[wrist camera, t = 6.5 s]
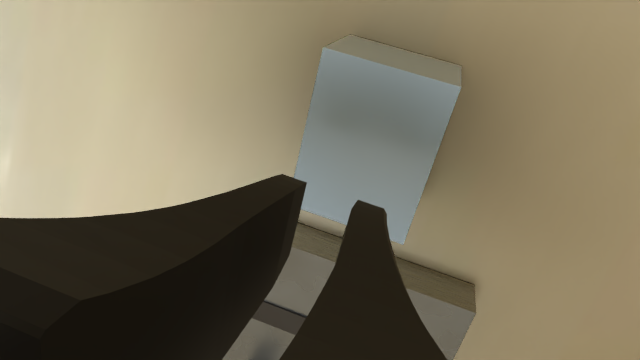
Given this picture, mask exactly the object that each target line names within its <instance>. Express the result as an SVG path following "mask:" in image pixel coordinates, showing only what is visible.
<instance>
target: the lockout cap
mask: <svg viewBox="0 0 640 360" xmlns="http://www.w3.org/2000/svg"><path fill="white" fill-rule="evenodd" d="M461 76H462V66H461V65H457V64H454V63H450V62H446V61H443V60H439V59H436V58H432V57H429V56H425V55H422V54H418V53H414V52H411V51H407V50H404V49H400V48H397V47H393V46H390V45H386V44H382V43H379V42H375V41H372V40H368V39H365V38H361V37H358V36H354V35H351V34H350V35H348V36H346V37H344V38H342V39H339V40H337V41H335V42H333V43H331V44H329V45H327V46H325V47H323V50H322V54H321V59H320V63H319V68H318V72H317V76H316V81H315V85H314V90H313V94H312V99H311V103H310V108H309V112H308V116H307V121H306V125H305V130H304V134H303V139H302V143H301V148H300V152H299V156H298V161H297V165H296V170H295V174H294V178H295V179H298V180H301V181H304V182H307V185H306V189H305V193H304V197H303V202H302V206H301V209H302V210H305V211H307V212H310V213H313V214H316V215H319V216H322V217H325V218H328V219H330V220H333V221H336V222H339V223H342V224H345V225H347V222H348V219H349V216H350V212H351V209H352V207H353V206H354V204H355V203H356V202H357V200H360V201H363V202H366V203H369V204H372V205H375V206H378V207H381V208H384V209H385V211H386V213H387V226H388V232H389V237H390V240H391V241H394V242H397V243H400V244H402V245H403V244H404V241H405V239H406V236H407V233H408V231H409V228H410V225H411V222H412V220H413V217H414V214H415V212H416V209H417V206H418V204H419V201H420V198H421V195H422V193H423V190H424V187H425V185H426V182H427V179H428V176H429V174H430V171H431V168H432V166H433V163H434V160H435V157H436V155H437V152H438V149H439V147H440V144H441V141H442V138H443V136H444V133H445V130H446V128H447V125H448V122H449V120H450V117H451V114H452V111H453V109H454V106H455V103H456V101H457V98H458V95H459V92H460V90H461Z"/></svg>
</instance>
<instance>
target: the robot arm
mask: <svg viewBox="0 0 640 360" xmlns="http://www.w3.org/2000/svg"><path fill="white" fill-rule="evenodd" d="M306 185H307V182H304V181H301V180H298V179H295V178H292V177H289V176H286V175H283V174H281V175H277V176H274V177H271V178H268V179H265V180H262V181H259V182H256V183H253V184H250V185H247V186H244V187H241V188H238V189H235V190H232V191H229V192H226V193H222V194H219V195H215V196H211V197H208V198H204V199H200V200H197V201H193V202H189V203H185V204H181V205H176V206H171V207H166V208H160V209H155V210H149V211H142V212H135V213H126V214H115V215H104V216H93V217H79V218H0V360H222V359H223V358H224V356H225V355H226V354H227V352H228V351H229V349H230V348H231V346H232V345H233V344H234V342H235V341H236V339H237V338H238V337H239V335H240V334H241V332H242V331H243V329H244V328H245V327H246V325H247V324H248V322H249V321H250V320H251V318H252V317H253V315H254V314H255V312H256V311H257V310H258V308H259V307H260V305H261V304H262V302H263V301H264V300H265V298H266V297H267V295H268V294H269V292H270V291H271V289H272V288H273V286H274V284H275V282H276V280H277V279H278V277H279V275H280V273H281V271H282V269H283V267H284V265H285V263H286V261H287V259H288V257H289V255H290V251H291V247H292V243H293V239H294V235H295V231H296V227H297V222H298V218H299V214H300V210H301V206H302V202H303V197H304V193H305V189H306ZM279 360H447V358H446V357H445V355H444V354H443V353H442V351H441V350H440V348H439V347H438V345H437V344H436V342H435V341H434V339H433V338H432V336H431V335H430V333H429V332H428V330H427V329H426V327H425V325H424V324H423V322H422V320H421V319H420V317H419V315H418V313H417V311H416V309H415V307H414V305H413V303H412V301H411V299H410V297H409V294H408V292H407V290H406V287H405V285H404V282H403V280H402V277H401V275H400V272H399V269H398V266H397V263H396V260H395V256H394V253H393V250H392V246H391V242H390V237H389V232H388V226H387V213H386V211H385V209H384V208H381V207H378V206H375V205H372V204H369V203H366V202H363V201H360V200H357V202H356V203H355V204H354V206H353V207H352V209H351V212H350V216H349V219H348V222H347V226H346V229H345V232H344V236H343V239H342V242H341V246H340V249H339V253H338V256H337V259H336V263H335V266H334V268H333V270H332V272H331V274H330V276H329V278H328V280H327V282H326V284H325V286H324V287H323V289H322V291H321V293H320V295H319V296H318V298H317V300H316V302H315V304H314V305H313V307H312V309H311V311H310V312H309V314H308V316H307V317H306V319H305V321H304V322H303V324H302V326H301V327H300V329H299V331H298V332H297V334H296V335H295V337H294V338H293V340H292V341H291V343H290V344H289V346H288V347H287V349H286V350H285V352H284V353H283V355H282V356H281V358H280V359H279Z"/></svg>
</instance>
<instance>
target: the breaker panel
mask: <svg viewBox="0 0 640 360" xmlns="http://www.w3.org/2000/svg"><path fill="white" fill-rule="evenodd" d="M342 239H343V238H340V237H337V236H334V235H331V234H329V233H326V232H323V231H320V230H317V229H314V228H312V227H309V226H306V225H303V224H300V223H297V227H296V231H295V235H294V239H293V243H292V247H291V251H290V255H289V257H288V259H287V261H286V263H285V265H284V267H283V269H282V271H281V273H280V275H279V277H278V279H277V280H276V282H275V284H274V286H273V288H272V289H271V291H270V292H269V294H268V295H267V297H266V298H265V300H264V301H263V302H262V304H261V305H260V307H259V308H258V310H257V311H256V312H255V314H254V315H253V317H252V318H251V320H250V321H249V322H248V324H247V325H246V327H245V328H244V329H243V331H242V332H241V334H240V335H239V337H238V338H237V339H236V341H235V342H234V344H233V345H232V346H231V348H230V349H229V351H228V352H227V354H226V355H225V356H224V358H223V359H222V360H279V359H280V358H281V356H282V355H283V353H284V352H285V350H286V349H287V347H288V346H289V344H290V343H291V341H292V340H293V338H294V337H295V335H296V334H297V332H298V331H299V329H300V327H301V326H302V324H303V322H304V321H305V319H306V317H307V316H308V314H309V312H310V311H311V309H312V307H313V305H314V304H315V302H316V300H317V298H318V296H319V295H320V293H321V291H322V289H323V287H324V286H325V284H326V282H327V280H328V278H329V276H330V274H331V272H332V270H333V268H334V266H335V263H336V259H337V256H338V253H339V249H340V246H341V242H342ZM395 260H396V263H397V266H398V269H399V272H400V275H401V277H402V280H403V282H404V285H405V287H406V290H407V292H408V294H409V297H410V299H411V301H412V303H413V305H414V307H415V309H416V311H417V313H418V315H419V317H420V319H421V320H422V322H423V324H424V325H425V327H426V329H427V330H428V332H429V333H430V335H431V336H432V338H433V339H434V341H435V342H436V344H437V345H438V347H439V348H440V350H441V351H442V353H443V354H444V355H445V357H446V358H447V360H453V359H454V357H455V355H456V353H457V351H458V349H459V347H460V345H461V343H462V341H463V339H464V337H465V334H466V332H467V330H468V328H469V326H470V324H471V322H472V320H473V318H474V316H475V314H476V303H475V285H473V284H470V283H468V282H465V281H462V280H459V279H456V278H453V277H451V276H448V275H445V274H442V273H439V272H436V271H434V270H431V269H428V268H425V267H422V266H419V265H417V264H414V263H411V262H408V261H405V260H402V259H400V258H397V257H395Z"/></svg>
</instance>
